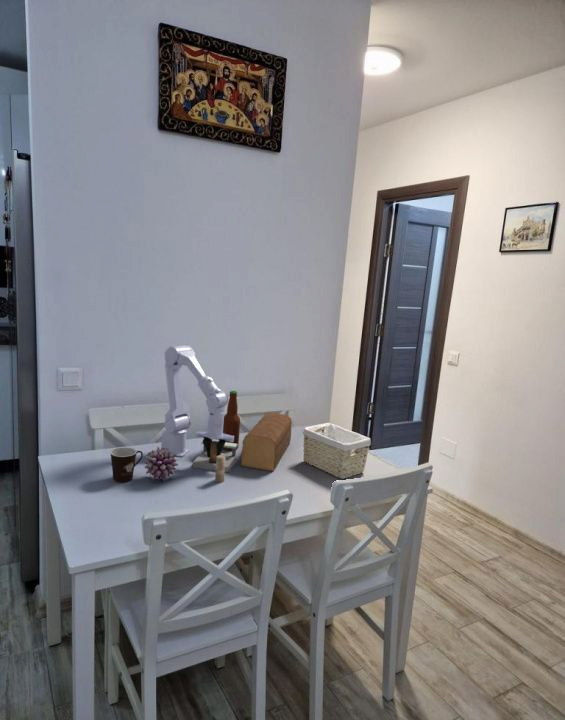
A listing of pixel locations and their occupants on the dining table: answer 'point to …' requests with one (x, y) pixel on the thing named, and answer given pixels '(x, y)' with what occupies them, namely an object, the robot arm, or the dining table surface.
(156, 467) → the spiky ball
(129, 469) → the coffee mug
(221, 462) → the maple peg
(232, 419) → the bottle
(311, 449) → the storage basket
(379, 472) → the dining table surface
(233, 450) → the socket board
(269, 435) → the bread
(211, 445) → the walnut peg
